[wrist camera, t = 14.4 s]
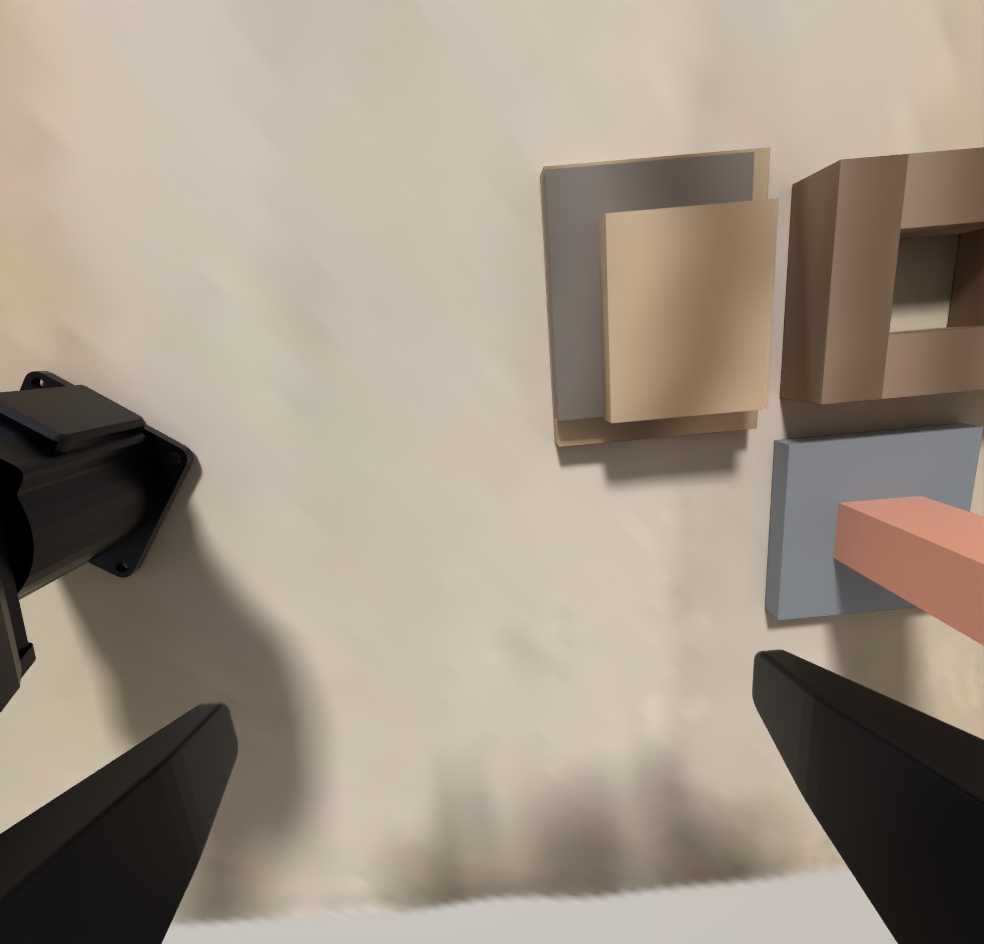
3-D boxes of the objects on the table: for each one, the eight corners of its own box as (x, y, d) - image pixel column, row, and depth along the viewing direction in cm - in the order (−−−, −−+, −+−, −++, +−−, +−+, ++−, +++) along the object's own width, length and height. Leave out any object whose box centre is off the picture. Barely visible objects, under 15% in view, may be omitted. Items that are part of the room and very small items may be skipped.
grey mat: (764, 608, 23) (777, 620, 22) (774, 440, 21) (789, 444, 20) (934, 592, 23) (954, 603, 22) (959, 423, 21) (983, 426, 20)
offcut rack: (552, 442, 20) (565, 457, 18) (537, 176, 18) (549, 143, 15) (988, 402, 21) (1072, 411, 18) (1033, 134, 18) (1138, 93, 15)
